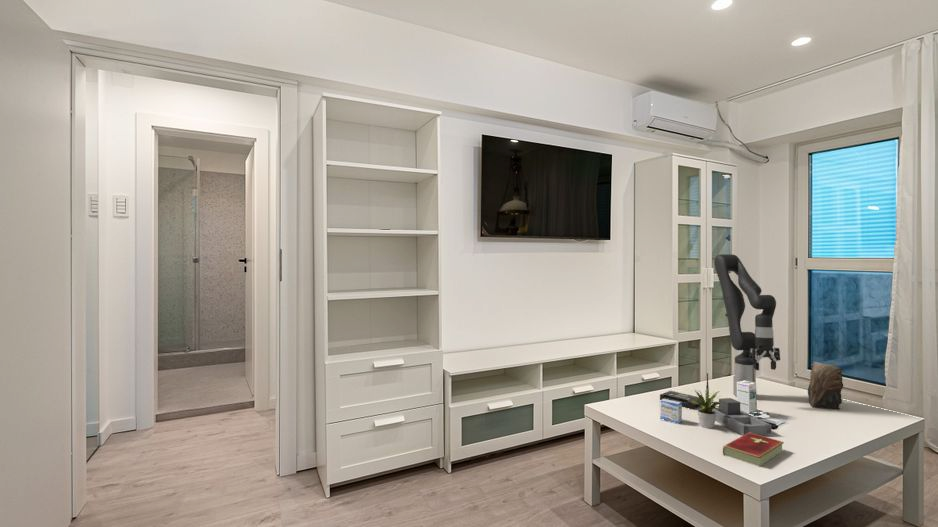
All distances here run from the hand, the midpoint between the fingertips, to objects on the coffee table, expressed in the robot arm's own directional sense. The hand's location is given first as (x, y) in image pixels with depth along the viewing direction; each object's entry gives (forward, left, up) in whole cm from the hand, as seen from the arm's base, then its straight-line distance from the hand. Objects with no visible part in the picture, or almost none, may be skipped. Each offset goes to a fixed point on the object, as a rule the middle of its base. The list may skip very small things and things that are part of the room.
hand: (765, 369), depth 215 cm
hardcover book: (+48, -45, -18) cm, 68 cm away
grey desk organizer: (+20, -31, -17) cm, 41 cm away
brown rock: (+4, +26, -17) cm, 31 cm away
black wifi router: (-6, -37, -18) cm, 42 cm away
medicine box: (+14, -56, -18) cm, 60 cm away
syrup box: (+10, -17, -17) cm, 26 cm away
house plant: (+22, -46, -17) cm, 54 cm away
